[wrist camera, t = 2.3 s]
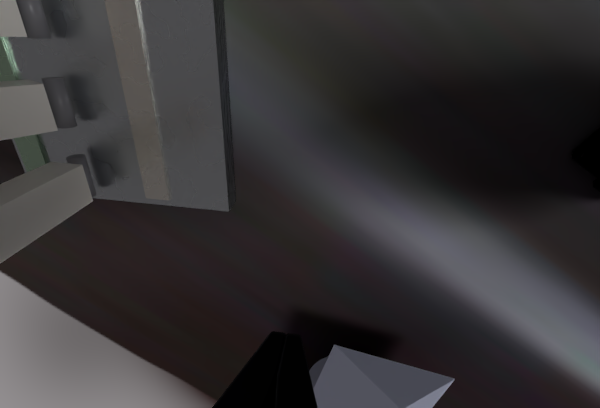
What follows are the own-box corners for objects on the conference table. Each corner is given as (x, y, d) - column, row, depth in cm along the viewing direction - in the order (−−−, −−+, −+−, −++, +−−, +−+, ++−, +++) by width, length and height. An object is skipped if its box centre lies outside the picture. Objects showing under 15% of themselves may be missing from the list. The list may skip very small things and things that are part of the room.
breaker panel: (221, -29, 16) (208, -35, 15) (235, 200, 23) (227, 212, 21) (-29, -35, 18) (-64, -42, 16) (49, 183, 24) (29, 193, 22)
